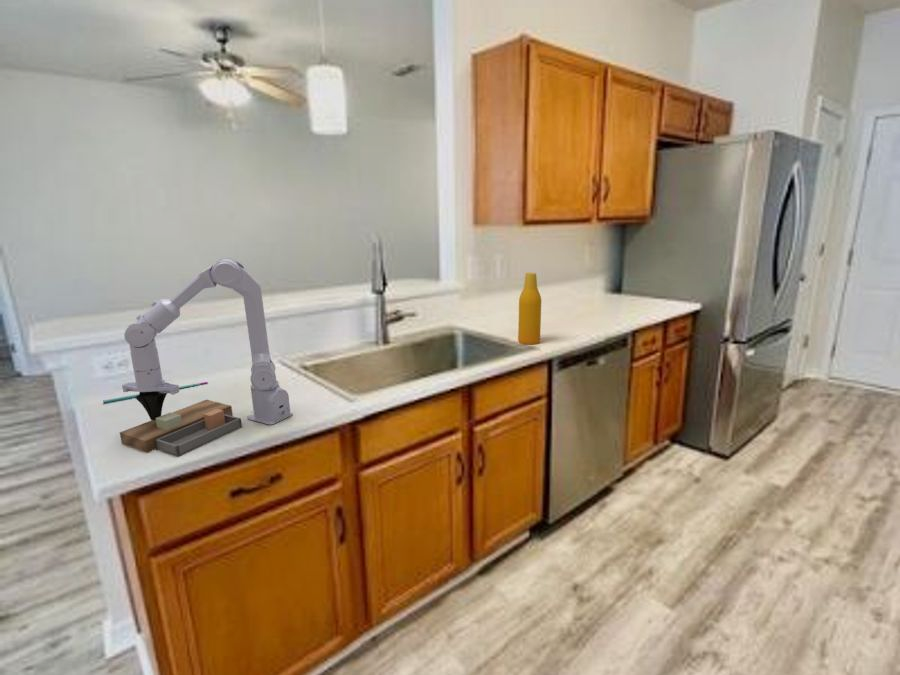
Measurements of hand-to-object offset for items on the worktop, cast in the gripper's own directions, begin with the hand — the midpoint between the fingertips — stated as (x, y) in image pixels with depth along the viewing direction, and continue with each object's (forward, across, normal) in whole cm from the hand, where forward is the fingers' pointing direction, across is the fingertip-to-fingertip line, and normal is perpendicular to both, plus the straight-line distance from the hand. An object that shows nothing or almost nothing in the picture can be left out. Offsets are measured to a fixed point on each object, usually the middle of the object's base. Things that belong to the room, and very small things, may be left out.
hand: (156, 418), depth 127 cm
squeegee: (+5, +18, -23) cm, 29 cm away
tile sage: (+1, -5, +2) cm, 5 cm away
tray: (+4, -13, +1) cm, 14 cm away
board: (+4, -4, -3) cm, 6 cm away
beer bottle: (+4, -93, -101) cm, 137 cm away
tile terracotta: (+2, -12, -5) cm, 13 cm away
